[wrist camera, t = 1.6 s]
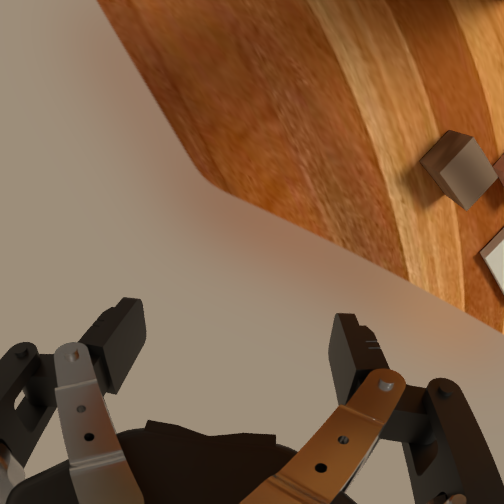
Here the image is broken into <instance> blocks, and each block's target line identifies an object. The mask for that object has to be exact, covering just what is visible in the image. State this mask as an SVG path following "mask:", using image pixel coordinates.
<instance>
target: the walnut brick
mask: <svg viewBox="0 0 504 504" xmlns="http://www.w3.org/2000/svg"><path fill="white" fill-rule="evenodd" d="M420 163H421V164H422V165H423V166H424V168H425V169H426V170H427V171H428V173H429V174H430V175H431V176H432V178H433V179H434V180H435V182H436V183H437V184H438V186H439V187H440V188H441V190H442V191H443V192H444V194H445V195H446V196H448V197H449V198H450V199H452V200H453V201H454V202H456V203H457V204H458V205H459V206H461V207H462V208H463V209H465V210H466V211H467V210H468V209H469V208H470V207H471V206H472V205H473V204H474V203H475V202H476V201H477V200H478V199H479V198H480V197H481V196H482V195H483V193H484V192H485V191H486V190H487V189H488V188H489V187H490V186H491V185H492V184H493V182H494V181H495V180H496V179H497V178H498V176H497V174H496V172H495V171H494V169H493V167H492V166H491V164H490V162H489V161H488V159H487V157H486V156H485V154H484V153H483V151H482V149H481V148H480V146H479V145H478V143H477V142H476V140H475V139H474V137H472V136H469V135H465V134H462V133H458V132H455V131H452V130H449V131H448V132H447V133H446V134H445V135H444V136H443V137H442V138H441V139H440V140H439V141H438V142H437V143H436V144H435V145H434V146H433V148H432V149H431V150H430V151H429V152H428V153H427V154H426V155H425V156H424V157H423V158H422V159H421V160H420Z"/></svg>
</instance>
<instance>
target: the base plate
mask: <svg viewBox="0 0 504 504" xmlns="http://www.w3.org/2000/svg"><path fill="white" fill-rule="evenodd" d="M480 254H481V256H482V257H483V259H484V261H485V262H486V264H487V266H488V268H489V269H490V271H491V273H492V275H493V276H494V278H495V280H496V282H497V284H498V285H499V287H500V289H501V291H502V293H503V295H504V228H503V229H502V230H501V231H500V232H499V233H498V234H497V235H496V236H495V237H494V238H493V239H492V240H491V242H490V243H489V244H488V245H487V246H486V247H485V248H484V249H483V250H482V251H481V252H480Z"/></svg>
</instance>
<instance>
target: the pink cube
mask: <svg viewBox="0 0 504 504" xmlns="http://www.w3.org/2000/svg"><path fill="white" fill-rule="evenodd" d="M493 169H494V170H495V172H496V174H497V175H498V177H499V179H500V181H501V183H502V184H503V186H504V154H503V155H502V157H501V158H500V159H499V160H498V161H497V162H496V163H495V165H494V166H493Z"/></svg>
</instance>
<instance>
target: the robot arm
mask: <svg viewBox="0 0 504 504" xmlns="http://www.w3.org/2000/svg"><path fill="white" fill-rule="evenodd" d="M145 340H146V325H145V318H144V311H143V304H142V301H141V299H135V298H127V297H124V298H122V299H121V301H120V302H119V303H118V304H117V305H116V307H111V308H109V309H108V310H106V311H104V312H103V313H102V314H101V315H100V316H99V317H98V319H97V321H95V322H94V323H93V325H92V326H91V327H90V328H89V329H88V330H87V332H86V333H85V334H84V335H83V336H82V338H81V339H80V340H79V341H78V342H71V343H66V344H64V345H62V346H60V347H59V348H58V349H57V350H56V351H55V353H54V354H39V353H38V351H37V347H36V346H35V345H34V344H33V343H30V342H23V343H19V344H16V345H14V346H13V347H12V348H10V349H9V350H8V352H7V353H6V354H5V355H4V356H3V357H2V358H1V359H0V504H357V503H356V502H355V501H353V500H352V499H351V498H350V497H349V496H348V495H347V494H345V492H346V491H347V489H348V488H349V487H350V485H351V484H352V482H353V481H354V479H355V478H356V476H357V475H358V473H359V472H360V470H361V469H362V467H363V466H364V464H365V463H366V461H367V459H368V458H369V456H370V455H371V453H372V452H373V450H374V448H375V447H376V445H377V443H378V442H379V440H380V439H386V440H392V441H398V442H402V446H403V451H404V454H405V459H406V463H407V467H408V472H409V476H410V480H411V486H412V490H413V495H414V500H415V504H504V485H503V483H502V480H501V477H500V474H499V472H498V470H497V467H496V464H495V462H494V459H493V457H492V454H491V452H490V450H489V447H488V445H487V443H486V441H485V438H484V436H483V434H482V432H481V429H480V427H479V425H478V423H477V421H476V419H475V417H474V415H473V412H472V411H471V409H470V406H469V404H468V402H467V400H466V398H465V397H464V394H463V393H462V390H461V389H460V387H459V386H458V385H457V384H456V383H454V382H453V381H451V380H449V379H446V378H436V379H433V380H431V381H430V382H429V384H428V386H427V388H422V387H416V386H410V385H407V384H406V382H405V380H404V378H403V377H402V376H401V375H400V374H399V373H397V372H396V371H393V370H390V368H389V366H388V363H387V361H386V359H385V357H384V354H383V352H382V350H381V349H380V345H379V343H378V342H377V339H376V337H375V335H374V333H373V332H372V331H371V330H370V329H369V328H368V327H366V326H359V323H358V321H357V318H356V316H355V314H346V313H337V314H336V315H335V318H334V323H333V329H332V333H331V338H330V343H329V352H328V354H329V362H330V366H331V371H332V376H333V380H334V385H335V389H336V394H337V400H338V404H339V406H338V408H337V409H336V410H335V411H334V412H333V414H332V415H331V416H330V417H329V418H328V419H327V421H326V422H325V423H324V424H323V425H322V426H321V428H320V429H319V430H318V431H317V432H316V433H315V435H313V437H312V438H311V439H310V440H309V441H308V442H307V443H306V444H305V445H304V446H303V447H302V448H301V450H300V451H299V452H297V451H295V450H293V449H291V448H289V447H286V446H283V445H280V444H276V435H272V434H271V435H270V434H253V433H238V434H229V435H218V436H206V435H204V434H201V433H198V432H195V431H192V430H189V429H187V428H184V427H181V426H179V425H174V424H168V423H162V422H156V421H151V420H148V421H147V423H146V426H145V428H140V429H132V430H127V431H124V432H121V433H118V434H117V433H116V430H115V428H114V425H113V422H112V420H111V417H110V414H109V412H108V409H107V406H106V403H105V400H104V398H103V397H104V395H105V393H106V392H107V393H111V394H117V393H118V391H119V389H120V387H121V385H122V383H123V381H124V380H125V378H126V376H127V374H128V372H129V370H130V369H131V367H132V365H133V363H134V361H135V360H136V358H137V356H138V354H139V352H140V351H141V349H142V347H143V345H144V343H145ZM21 390H23V392H24V394H25V397H24V398H23V400H22V401H21V403H20V404H19V406H18V407H17V409H16V410H15V409H14V402H15V399H16V398H17V396H18V395H19V393H20V392H21ZM57 407H58V413H59V418H60V423H61V428H62V433H63V437H64V442H65V446H66V450H67V454H68V458H69V459H68V460H66V461H64V462H62V463H60V464H58V465H56V466H53V467H51V468H49V469H47V470H45V471H43V472H41V473H38V474H36V475H34V476H32V477H30V478H28V479H25V472H24V467H25V465H26V463H27V461H28V459H29V457H30V455H31V453H32V452H33V449H34V447H35V446H36V444H37V442H38V440H39V438H40V437H41V435H42V433H43V431H44V429H45V427H46V426H47V424H48V422H49V420H50V418H51V417H52V415H53V413H54V411H55V410H56V408H57Z"/></svg>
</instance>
